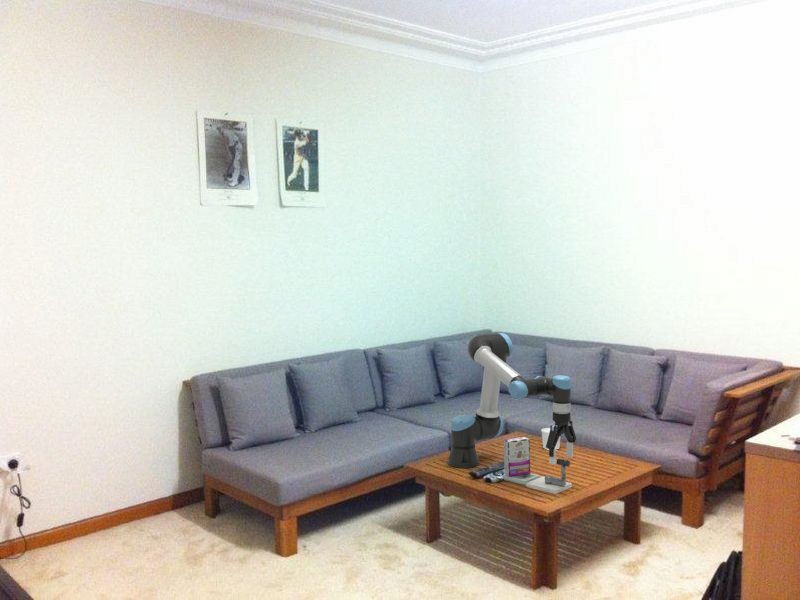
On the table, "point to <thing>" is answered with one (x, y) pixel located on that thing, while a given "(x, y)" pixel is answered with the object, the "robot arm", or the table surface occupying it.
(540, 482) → the crank base
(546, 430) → the cup
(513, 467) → the candy bar box
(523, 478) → the tray
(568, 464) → the crank
